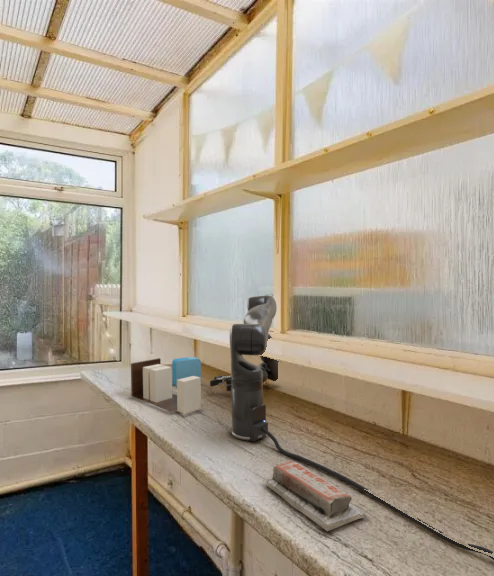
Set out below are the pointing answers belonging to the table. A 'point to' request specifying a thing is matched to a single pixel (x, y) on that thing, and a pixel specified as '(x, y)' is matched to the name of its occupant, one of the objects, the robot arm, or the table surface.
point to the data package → (185, 368)
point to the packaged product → (313, 496)
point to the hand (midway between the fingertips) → (218, 385)
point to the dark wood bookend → (138, 385)
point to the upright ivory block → (188, 394)
